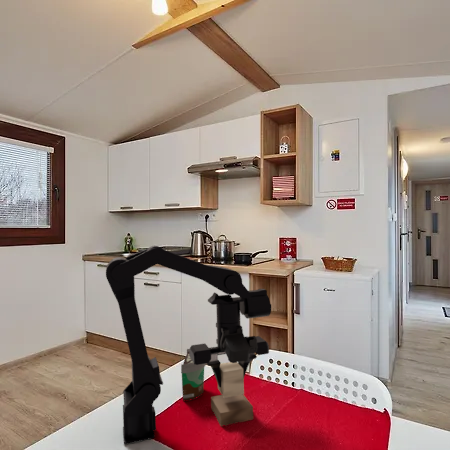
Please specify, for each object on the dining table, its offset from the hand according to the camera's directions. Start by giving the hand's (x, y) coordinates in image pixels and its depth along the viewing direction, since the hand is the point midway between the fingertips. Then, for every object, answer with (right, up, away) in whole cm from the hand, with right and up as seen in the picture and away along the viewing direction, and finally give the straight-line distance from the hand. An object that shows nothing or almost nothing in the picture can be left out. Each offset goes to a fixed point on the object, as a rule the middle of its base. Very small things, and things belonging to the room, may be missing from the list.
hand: (230, 384), depth 84 cm
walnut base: (0, -7, 0) cm, 7 cm away
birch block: (0, -2, 0) cm, 2 cm away
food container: (-9, -8, +12) cm, 17 cm away
